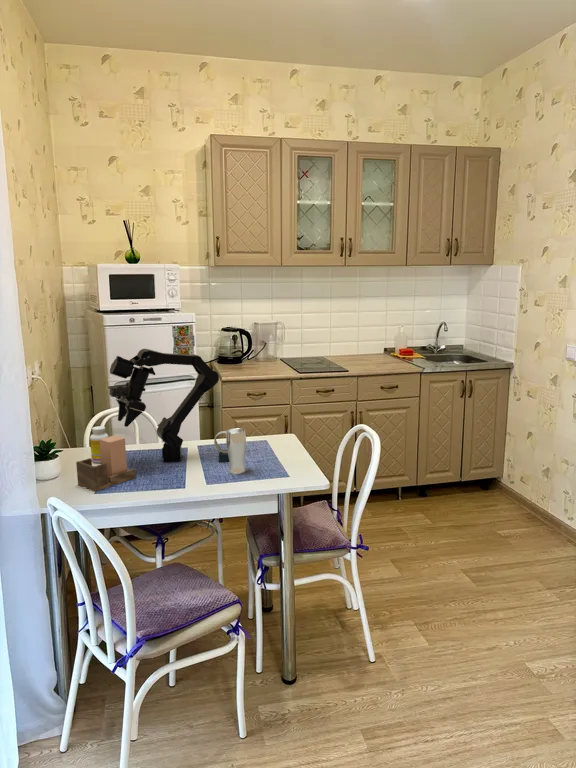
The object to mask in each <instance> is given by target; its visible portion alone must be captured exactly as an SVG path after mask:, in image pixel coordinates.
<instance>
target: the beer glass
mask: <svg viewBox="0 0 576 768" xmlns="http://www.w3.org/2000/svg"><path fill="white" fill-rule="evenodd" d="M226 431H227V434H226V435H225V436H226V439H225V445H226V450H227V452H228V456H229V462H228V474H231V475H241V473H242V474H245V473H246V471H247V470H246V465H245V457H246V450H247V436H246V435H247V434H246V429H244V428H241V427H240V428H239V427H236V428H235V427H234V428H229V429H227V430H226Z"/></svg>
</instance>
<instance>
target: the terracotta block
mask: <svg viewBox="0 0 576 768" xmlns="http://www.w3.org/2000/svg"><path fill="white" fill-rule="evenodd" d="M99 443H100V456H101V463H100V464H104V463H106V464H107V475H108V478H109V476H112V475H115V474H118V473H121V472H124V471H128V466H127V465H128V464H127V449H126V438H125V437H122V436H117V435H111V436H109V437H107V438H103V439H99Z"/></svg>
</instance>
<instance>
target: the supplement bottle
mask: <svg viewBox="0 0 576 768" xmlns="http://www.w3.org/2000/svg"><path fill="white" fill-rule="evenodd" d="M91 431H92V434H91V435H90V437H89V442H90V443H89V444H90V455H91V459H92V462H93V463H95V464H101V456H100V443H99V439H103V438H107V437H110V436H109V434H108V433H106V426H100V425H99V426H93V427H92V429H91Z"/></svg>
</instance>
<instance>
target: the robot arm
mask: <svg viewBox="0 0 576 768" xmlns="http://www.w3.org/2000/svg"><path fill="white" fill-rule="evenodd" d="M160 365H161V366H162V365H178V366H179V365H181V366H191V367H193V369H194V370H195V372H196V373H197V374H198V375H197V377H196V378H195V381H194V382H195V383H194V386H193V388H192V389H190V391H189V392H188V394H187V395H186V397H184V399H183V400H182V402H181V403H180V404H179V405H178V407H177V409H175V411H174V412H173V414H172V415H171V416H170V417H165V416H164V417H163V418H162V419H161V421H160V423H158V424H157V427H156V435H157V437H158V438H159V439H161V440H162V442H163V445H162V448H161V453H162V454H161V455H162V459H163V460H162V462H164V463H165V462H166V463H168V462H169V463H171V462H181V461H182V459H183V452H182V451H183V450H182V445H183V442H184V440H183V438H181V437H180V436H179V435H178V434H180V431H181V430H180V429H181V426H182V424H183V422H184V421H185V420H186V418H187V417H188V415H189V414H190V413H191V411H192V410H193V409H194V408H195V407H196V405H197V403H199V401H200V400H201V398H202V397H203V396H204V394H205V393H207V392H209V391H210V390H211V389H213V387H214V386H216V385H217V384H218V382H219V381H220V377H219V373H218V372H217V371H215V370H213V369H212V368H211V367H210V366H209V365H208V364H207V363H206V362H205V360H204V359H202V356H200V355H198V354H185V353H184V354H182V353H169V352H167V353H166V352H160V351H156V350H153V349H149V348H142V349H140V350H138V352H137V354H136V355H135V356H133V357H131V358H129V359H126V358H123V357H122V356H120V355H117V356H116V357H115V359H114V360H113V362H112V363H111V366H110V368H109V375H112V376H117V377H120V378H122V379H124V380H125V379H127V378H130V379H129V381H126V382H125V385H109V387H108V388H109V390H108V391H109V392H108V393H109V394H108V395H109V396H110V397H112V398H116V399H115V401H116V403H117V404H118V412H117V413H118V415H117V421H119V422H121V421H123V419H124V418H125V419H124V425H123V426H124V427H126V428H127V427H129V426H130V425H131V424H132V423H133V422H134V421H135V420H136V418H138V417H139V416H140V415H141V414H143V412H145V410H146V409H147V406H146V403H145V402H143V401H142V395H143V392H146V388H145V387H146V385H147V382H148V378H149V376H150V375H153V376H156V372H155V371H154V366H160Z"/></svg>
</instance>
